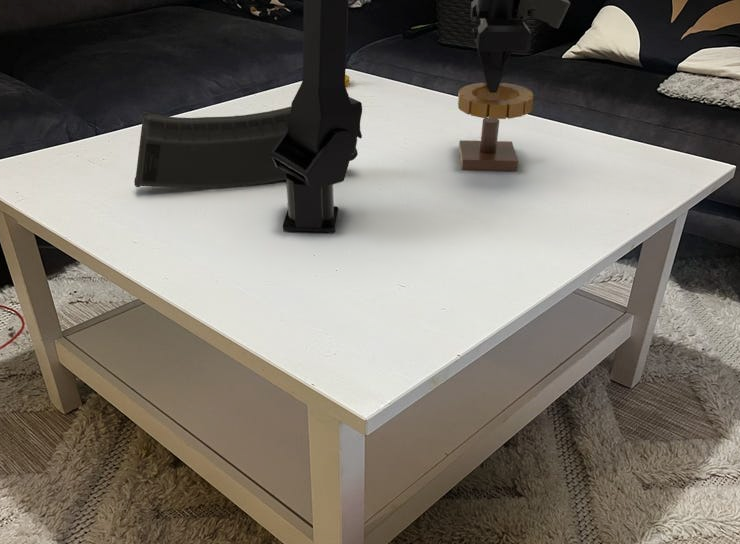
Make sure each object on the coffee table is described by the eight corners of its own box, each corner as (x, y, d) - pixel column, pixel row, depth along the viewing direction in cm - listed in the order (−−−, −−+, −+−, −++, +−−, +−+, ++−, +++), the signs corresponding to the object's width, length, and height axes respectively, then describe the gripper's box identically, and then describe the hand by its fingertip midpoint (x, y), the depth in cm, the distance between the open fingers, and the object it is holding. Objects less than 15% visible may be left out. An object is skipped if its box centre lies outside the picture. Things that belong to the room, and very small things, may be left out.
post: (516, 171, 106) (522, 130, 103) (461, 169, 107) (465, 128, 103) (510, 150, 113) (515, 111, 109) (458, 149, 113) (461, 110, 109)
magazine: (104, 131, 92) (324, 45, 93) (104, 123, 95) (319, 39, 96) (165, 243, 103) (362, 166, 104) (164, 233, 106) (357, 157, 106)
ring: (535, 119, 93) (537, 105, 92) (459, 118, 94) (460, 104, 93) (526, 95, 101) (528, 82, 100) (456, 95, 101) (457, 81, 100)
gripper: (583, -25, 83) (562, 113, 92) (559, -51, 97) (542, 71, 107) (484, -26, 83) (473, 112, 93) (474, -51, 98) (466, 70, 107)
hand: (492, 90), depth 100 cm, fingers closed on ring, 2 cm apart
